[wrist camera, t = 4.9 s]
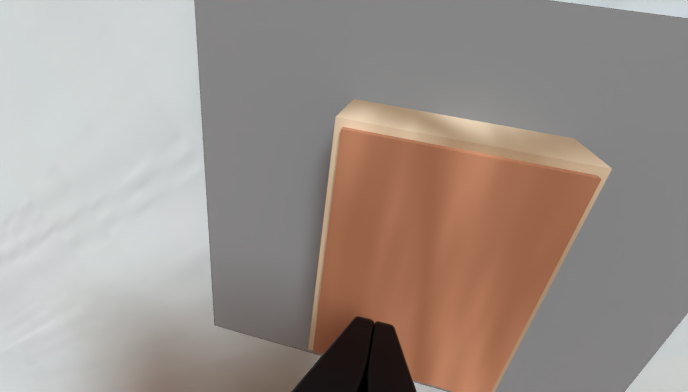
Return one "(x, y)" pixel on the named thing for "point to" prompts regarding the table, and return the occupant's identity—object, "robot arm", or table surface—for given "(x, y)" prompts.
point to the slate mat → (463, 102)
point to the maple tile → (446, 235)
